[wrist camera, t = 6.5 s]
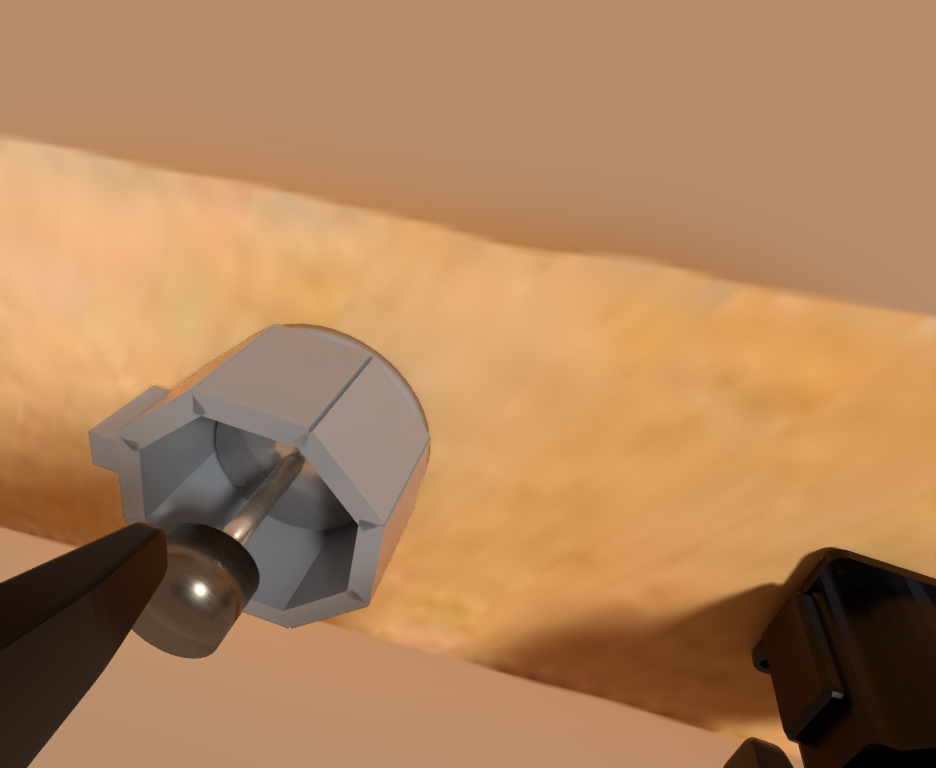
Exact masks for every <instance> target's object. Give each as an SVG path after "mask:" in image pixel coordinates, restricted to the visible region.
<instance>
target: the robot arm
mask: <svg viewBox="0 0 936 768" xmlns="http://www.w3.org/2000/svg"><path fill="white" fill-rule="evenodd" d="M839 563H845V564H844V565H840V566H837V564H839ZM167 569H168V550H167V535H166V532H165V530H164V529H162V528H160V527H157V526H155V525H152V524H149V523H146V522H136V523H133V524H130V525H128V526H126V527H124V528H121V529H119V530H117V531H115V532H112V533H110V534H108V535H106V536H104V537H101V538H99V539H97V540H95V541H92V542H90V543H88V544H86V545H84V546H81V547H79V548H77V549H75V550H73V551H70V552H68V553H66V554H64V555H62V556H59V557H57V558H55V559H52V560H50V561H48V562H46V563H43V564H41V565H39V566H37V567H35V568H32V569H30V570H28V571H26V572H23V573H21V574H19V575H17V576H15V577H12V578H10V579H8V580H6V581H4V582H1V583H0V768H27V767H28V766H29V765H30V763H31V762H32V761H33V759H34V758H35V757H36V756H37V754H38V753H39V752H40V751H41V749H42V748H43V747H44V746H45V744H46V743H47V742H48V741H49V739H50V738H51V737H52V736H53V734H54V733H55V732H56V731H57V729H58V728H59V727H60V726H61V724H62V723H63V721H65V719H66V718H67V717H68V715H69V714H70V713H71V712H72V710H73V709H74V708H75V707H76V705H77V704H78V703H79V702H80V700H81V699H82V698H83V697H84V695H85V694H86V693H87V692H88V690H89V689H90V688H91V687H92V685H93V684H94V683H95V681H96V680H97V679H98V677H99V676H100V675H101V673H102V672H103V671H104V669H105V668H106V666H107V665H108V663H109V662H110V661H111V659H112V658H113V656H114V655H115V653H116V652H117V650H118V648H119V647H120V645H121V644H122V642H123V641H124V639H125V638H126V636H127V635H128V633H129V632H130V630H131V628H132V627H133V625H134V624H135V622H136V621H137V619H138V618H139V616H140V615H141V613H142V612H143V610H144V608H145V607H146V605H147V604H148V602H149V601H150V599H151V598H152V596H153V595H154V593H155V591H156V590H157V588H158V587H159V585H160V584H161V582H162V581H163V579H164V577H165V575H166V572H167ZM751 655H752V659H753V664H754V667H755V668H756V669H757V670H759V671H761V672H764V673H767V674H770V675H771V677H772V682H773V686H774V691H775V695H776V699H777V704H778V708H779V712H780V717H781V721H782V726H783V730H784V732H785V734H786V736H787V738H788V740H790V741H792V742H795V743H798V745H799V749H800V753H801V757H802V761H803V765H804V768H936V579H935V578H931V577H928V576H925V575H922V574H919V573H916V572H913V571H910V570H907V569H903V568H900V567H897V566H894V565H891V564H888V563H885V562H882V561H879V560H876V559H872V558H869V557H866V556H863V555H860V554H857V553H854V552H851V551H848V550H842V549H838V550H833V551H830V552H828V553H827V554H826V555H825V556H824V557H823V558H822V560H821V561H820V562H819V564H818V565H817V566H816V568H815V569H814V570H813V572H812V573H811V574H810V576H809V577H808V578H807V580H806V581H805V582H804V584H803V585H802V586H801V588H800V589H799V590H798V591H797V592H796V593H794V594H793V595H792V596H791V597H790V598H789V600H788V601H787V602H786V604H785V605H784V606H783V608H782V609H781V610H780V612H779V613H778V614H777V616H776V617H775V618H774V620H773V621H772V622H771V624H770V625H769V626H768V628H767V629H766V630H765V632H764V633H763V635H762V639H761V641H760V642H759V643H758V645H757V646H756V647H755V649H754V650H753V651H752V654H751ZM766 659H767V660H766ZM723 768H794V767H793V766H792V764H791V762H790V761H789V759H788V757H787V756H786V754H785V753H784V752H783V751H782V749H781V748H779V747H778V746H776V745H774V744H772V743H769V742H766V741H763V740H760V739H757V738H754V737H751V738H747V739H746V740H745V741H744V742H743V743H742V745H741V746H740V747H739V748H738V749H737V751H736V752H735V753H734V754H733V755H732V756H731V757H730V759H729V760H728V761H727V762H726V764H725V765H724V767H723Z"/></svg>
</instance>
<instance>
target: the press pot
mask: <svg viewBox="0 0 936 768" xmlns="http://www.w3.org/2000/svg"><path fill="white" fill-rule="evenodd" d="M219 422H222V423H225V424H228V425H231V426H234V427H237V428H240V429H243V430H246V431H249V432H252V433H255V434H258V435H261V436H264V437H267V438H270V439H273V440H276V441H279V442H282V443H285V444H288V445H291V446H294V447H297V448H298V449H299V450H300V451H301V453H302V454H303V455H304V457H305V458H306V459H307V460H308V462H309V463H310V464H311V465H312V467H313V468H314V469H315V470H316V472H317V473H318V474H319V476H320V477H321V478H322V479H323V481H324V482H325V483H326V484H327V486H328V487H329V488H330V490H331V491H332V492H333V493H334V495H335V496H336V497H337V498H338V500H339V501H340V502H341V504H342V505H343V506H344V507H345V509H346V510H347V511H348V512H349V514H350V515H351V516H352V517H353V520H351V521H350V522H348V523H346V524H344V525H342V526H339V527H336V528H331V529H325V530H312V529H303V528H298V527H294V526H291V525H287V524H285V523H282V522H280V521H277V520H275V519H273V518H271V517H270V516H268V515H267V516H266V518H265V519H264V520H263V522H262V523H261V524H260V525H259V527H258V528H257V529H256V531H255V532H254V533H253V534H252V536H251V537H250V538H249V540H248V541H247V542H246V543H245V545H244V546H243V547H244V548H245V549H246V550H247V551H248V552H249V553H250V555H251V556H252V558H253V559H254V561H255V563H256V565H257V567H258V570H259V574H260V583H259V587H258V589H257V591H256V592H255V594H254V595H253V597H252V598H251V600H250V601H249V603H248V604H247V606H246V607H245V608H244V610H243V611H242V612H245V613H247V614H250V615H253V616H256V617H258V618H261V619H264V620H267V621H270V622H272V623H275V624H278V625H281V626H283V627H286V628H289V626H290V627H291V628H296V627H299V626H302V625H306V624H309V623H313V622H316V621H319V620H323V619H326V618H330V617H333V616H337V615H340V614H343V613H347V612H350V611H354V610H357V609H361V608H364V607H367V606H368V604H370V602H371V600H372V598H373V596H374V594H375V592H376V589H377V587H378V585H379V583H380V581H381V579H382V577H383V574H384V572H385V570H386V568H387V566H388V564H389V562H390V560H391V557H392V555H393V553H394V551H395V549H396V547H397V545H398V542H399V540H400V538H401V536H402V534H403V532H404V530H405V527H406V525H407V523H408V521H409V519H410V517H411V515H412V513H413V510H414V508H415V504H416V499H417V495H418V491H419V486H420V482H421V480H422V478H423V476H424V474H425V471H426V468H427V465H428V461H429V454H430V439H431V438H430V434H429V429H428V424H427V420H426V417H425V414H424V411H423V409H422V407H421V404H420V402H419V400H418V398H417V396H416V395H415V393H414V391H413V390H412V388H411V386H410V385H409V384H408V382H407V381H406V380H405V378H404V377H403V376H402V375H401V373H400V372H399V371H398V370H397V369H396V368H395V367H394V366H393V365H392V364H391V363H390V362H389V361H388V360H387V359H385V358H384V357H383V356H382V355H380V354H379V353H378V352H377V351H375V350H374V349H372V348H371V347H369V346H368V345H366V344H365V343H363V342H361V341H359V340H357V339H355V338H353V337H351V336H349V335H347V334H344V333H342V332H339V331H336V330H334V329H330V328H326V327H322V326H317V325H309V324H286V325H279V324H276V325H274V324H273V325H272V326H270V327H268V328H267V329H265V330H262V331H260V332H258V333H256V334H254V335H252V336H251V337H250V338H248V339H247V340H245V341H244V342H243V343H241V344H240V345H239V346H237V347H235V348H234V349H232V350H230V351H229V352H227V353H226V354H224V355H222V356H221V357H219V358H217V359H216V360H214V361H212V362H211V363H209V364H208V365H206V366H205V367H204V368H202V369H201V370H200V371H198V372H197V373H196V374H194V375H193V376H192V377H190V378H189V379H188V380H186V381H185V382H184V383H182V384H181V385H180V386H178V387H177V388H176V389H174V390H173V391H169V390H166V389H163V388H160V387H157V386H153V387H151V388H150V389H148V390H147V391H145V392H144V393H143V394H141V395H140V396H138V397H137V398H135V399H134V400H133V401H131V402H130V403H128V404H127V405H126V406H124V407H123V408H121V409H120V410H118V411H117V412H116V413H114V414H113V415H111V416H110V417H109V418H107V419H106V420H104V421H103V422H101V423H100V424H99V425H97V426H96V427H94V428H93V429H92V430H90V431H89V438H90V445H91V453H92V460H93V464H94V465H97V466H100V467H103V468H106V469H109V470H112V471H114V472H117V473H119V478H120V487H121V497H122V506H123V516H124V518H126V519H127V520H126V522H127V523H128V524H129V525H130V524H133V523H136V522H146V523H149V524H152V525H155V526H157V527H160V528H162V529H164V530H165V532H166V535H167V534H168V533H169V532H170V531H171V530H172V529H173V528H174V527H176V526H178V525H181V524H186V523H199V524H204V525H208V526H211V527H214V528H217V529H219V530H221V531H222V530H223V529H224V527H225V526H226V525H227V524H228V523H229V521H230V520H231V519H232V518H233V517H234V516H235V514H236V513H237V512H238V511H239V510H240V508H241V507H242V506H243V505H244V504H245V503H246V501H247V500H246V499H245V498H244V497H243V496H242V495H241V494H240V493H239V492H238V491H237V490H236V488H235V487H234V486H233V484H232V483H231V482H230V480H229V478H228V477H227V475H226V474H225V472H224V470H223V467H222V465H221V463H220V460H219V457H218V453H217V448H216V430H217V426H218V423H219Z"/></svg>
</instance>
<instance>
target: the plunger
mask: <svg viewBox="0 0 936 768" xmlns="http://www.w3.org/2000/svg"><path fill="white" fill-rule="evenodd" d="M216 448H217V453H218V457H219V460H220V463H221V465H222V467H223V470H224V472H225V474H226V475H227V477H228V478H229V480H230V482H231V483H232V484H233V486H234V487H235V488H236V490H237V491H238V492H239V493H240V494H241V495H242V496H243V497H244V498H245V499H246V500H247V501H246V503H245V504H244V505H243V506H242V507H241V508H240V510H239V511H238V512H237V513H236V514H235V516H234V517H233V518H232V519H231V520H230V521H229V523H228V524H227V525H226V526H225V527H224V529H223V530H222V531H221V530H219V529H217V528H214V527H211V526H208V525H204V524H199V523H186V524H181V525H178V526H176V527H174V528H173V529H172V530H171V531H170V532H169V533H168V534H167V550H168V569H167V572H166V575H165V577H164V579H163V581H162V582H161V584H160V585H159V587H158V588H157V590H156V591H155V593H154V595H153V596H152V598H151V599H150V601H149V602H148V604H147V605H146V607H145V608H144V610H143V612H142V613H141V615H140V616H139V618H138V619H137V621H136V622H135V624H134V625H133V627H132V628H131V629H132V630H133V631H134V632H135V633H136V634H137V635H139V636H140V637H141V638H142V639H144V640H145V641H146V642H148V643H149V644H151V645H153V646H154V647H157V648H158V649H160V650H162V651H164V652H167V653H169V654H172V655H175V656H179V657H184V658H202V657H206V656H209V655H210V654H212V653H213V652H214V651H215V650H216V649H217V648H218V646H219V645H220V643H221V642H222V640H223V639H224V637H225V636H226V634H227V633H228V631H229V630H230V629H231V627H232V626H233V624H234V623H235V621H236V620H237V619H238V617H239V616H240V614H241V613H242V611H243V610H244V608H245V607H246V606H247V604H248V603H249V601H250V600H251V598H252V597H253V595H254V594H255V592H256V591H257V589H258V587H259V583H260V574H259V570H258V567H257V565H256V563H255V561H254V559H253V558H252V556H251V555H250V553H249V552H248V551H247V550H246V549H245V548H244V547H243V546H244V545H245V543H246V542H247V541H248V540H249V538H250V537H251V536H252V534H253V533H254V532H255V531H256V529H257V528H258V527H259V525H260V524H261V523H262V522H263V520H264V519H265V518H266V516H267V515H268V516H270V517H271V518H273V519H275V520H277V521H280V522H282V523H285V524H287V525H291V526H294V527H298V528H303V529H312V530H325V529H331V528H336V527H339V526H342V525H344V524H346V523H348V522H350V521H351V520H353V517H352V516H351V515H350V514H349V512H348V511H347V510H346V509H345V507H344V506H343V505H342V504H341V502H340V501H339V500H338V498H337V497H336V496H335V495H334V493H333V492H332V491H331V490H330V488H329V487H328V486H327V484H326V483H325V482H324V481H323V479H322V478H321V477H320V476H319V474H318V473H317V472H316V470H315V469H314V468H313V467H312V465H311V464H310V463H309V462H308V460H307V459H306V458H305V457H304V455H303V454H302V453H301V451H300V450H299V449H298V448H297V447H294V446H291V445H288V444H285V443H282V442H279V441H276V440H273V439H270V438H267V437H264V436H261V435H258V434H255V433H252V432H249V431H246V430H243V429H240V428H237V427H234V426H231V425H228V424H225V423H222V422H219V423H218V426H217V430H216Z"/></svg>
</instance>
